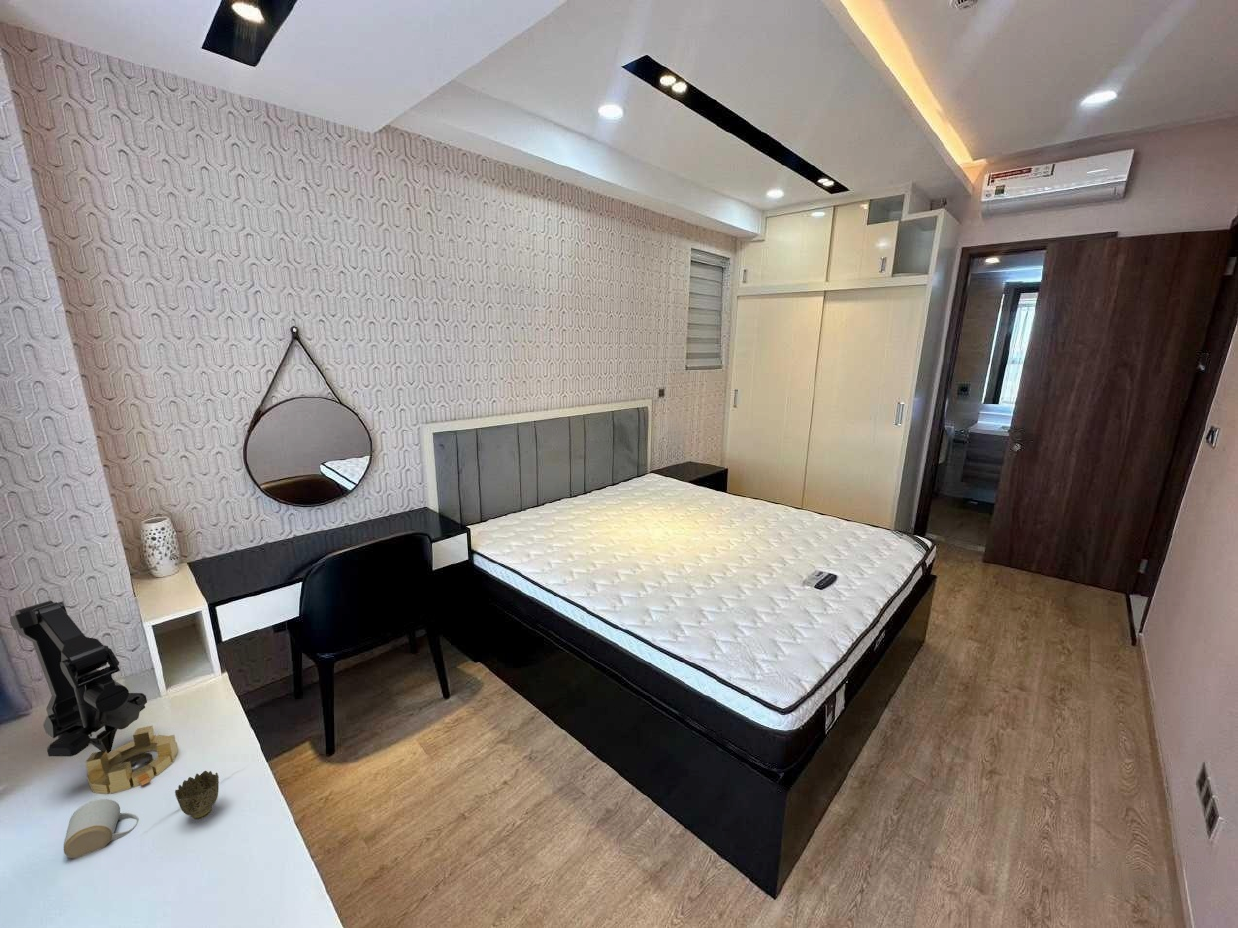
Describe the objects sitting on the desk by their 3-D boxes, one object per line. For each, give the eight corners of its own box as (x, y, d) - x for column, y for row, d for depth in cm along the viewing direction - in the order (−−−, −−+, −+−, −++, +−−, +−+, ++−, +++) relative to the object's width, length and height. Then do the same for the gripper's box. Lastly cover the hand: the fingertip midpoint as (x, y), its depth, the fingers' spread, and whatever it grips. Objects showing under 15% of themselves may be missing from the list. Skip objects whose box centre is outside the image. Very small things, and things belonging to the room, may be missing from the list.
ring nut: (73, 805, 114) (68, 785, 113) (108, 754, 128) (104, 735, 127) (162, 783, 120) (158, 763, 119) (186, 736, 135) (183, 718, 134)
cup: (231, 805, 116) (226, 775, 114) (195, 833, 109) (190, 802, 107) (208, 796, 118) (203, 766, 117) (172, 822, 111) (166, 792, 110)
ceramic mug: (64, 870, 101) (57, 837, 99) (73, 839, 107) (66, 808, 106) (137, 840, 107) (131, 810, 106) (141, 813, 114) (136, 784, 112)
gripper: (88, 724, 112) (102, 784, 115) (162, 672, 130) (173, 725, 133) (37, 724, 112) (53, 784, 115) (119, 672, 130) (130, 725, 133)
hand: (107, 752), depth 124 cm, fingers closed
